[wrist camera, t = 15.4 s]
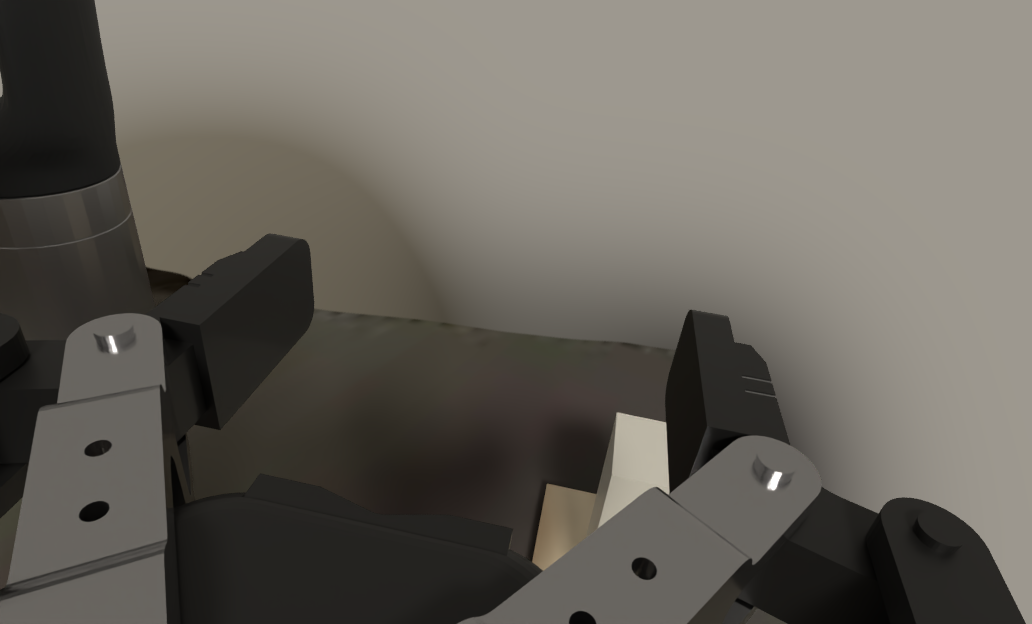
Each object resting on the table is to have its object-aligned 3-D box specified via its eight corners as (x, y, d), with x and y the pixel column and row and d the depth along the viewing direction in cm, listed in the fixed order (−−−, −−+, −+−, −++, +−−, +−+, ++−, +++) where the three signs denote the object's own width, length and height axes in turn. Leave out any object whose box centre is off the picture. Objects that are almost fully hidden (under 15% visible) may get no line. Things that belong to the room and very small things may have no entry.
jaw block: (574, 619, 33) (611, 475, 28) (582, 552, 37) (616, 412, 31) (655, 639, 33) (711, 496, 27) (655, 569, 37) (704, 430, 31)
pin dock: (503, 714, 30) (511, 670, 28) (544, 498, 42) (552, 456, 40) (708, 767, 29) (733, 725, 27) (691, 531, 41) (707, 489, 39)
